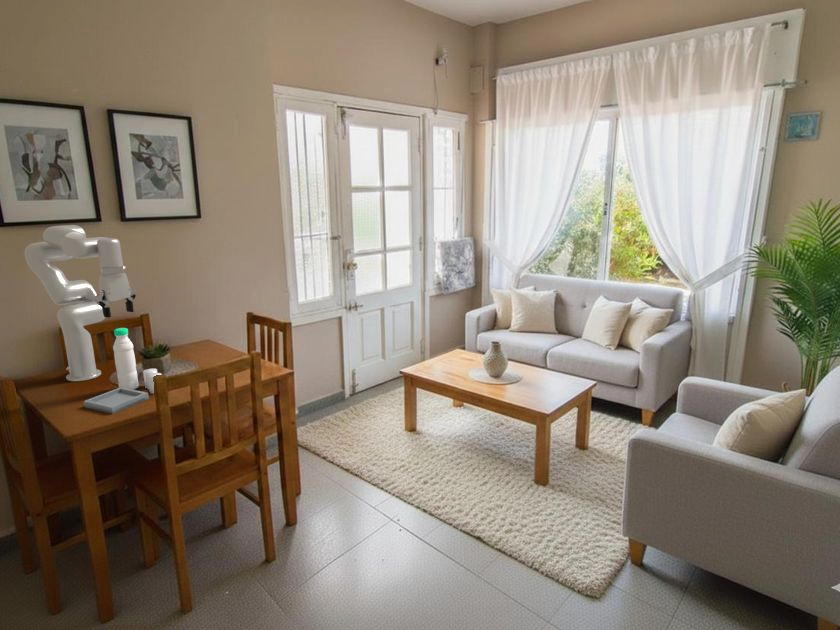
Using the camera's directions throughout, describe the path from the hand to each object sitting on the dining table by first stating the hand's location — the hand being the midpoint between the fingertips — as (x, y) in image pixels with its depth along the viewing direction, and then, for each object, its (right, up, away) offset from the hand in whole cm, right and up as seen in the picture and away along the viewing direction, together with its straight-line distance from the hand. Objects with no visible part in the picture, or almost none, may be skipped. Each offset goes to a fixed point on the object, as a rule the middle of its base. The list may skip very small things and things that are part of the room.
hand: (119, 314), depth 200 cm
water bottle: (0, -30, +8) cm, 31 cm away
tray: (+3, -33, -7) cm, 34 cm away
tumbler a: (+12, -31, +4) cm, 33 cm away
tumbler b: (+8, -30, +9) cm, 32 cm away
